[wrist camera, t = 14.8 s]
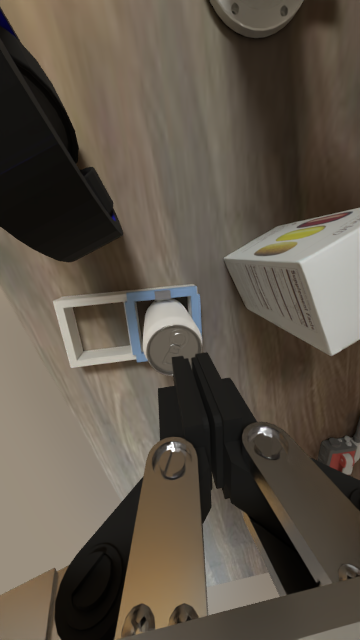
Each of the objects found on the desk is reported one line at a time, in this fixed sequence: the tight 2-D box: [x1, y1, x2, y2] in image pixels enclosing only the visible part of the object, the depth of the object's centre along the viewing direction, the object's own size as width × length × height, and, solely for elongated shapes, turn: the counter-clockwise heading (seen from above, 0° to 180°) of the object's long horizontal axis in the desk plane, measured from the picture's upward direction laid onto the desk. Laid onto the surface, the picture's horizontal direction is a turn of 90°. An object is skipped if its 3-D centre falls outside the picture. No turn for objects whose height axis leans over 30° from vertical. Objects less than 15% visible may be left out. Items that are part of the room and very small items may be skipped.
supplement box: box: [224, 208, 360, 356], centre depth 24 cm, size 10×9×17 cm
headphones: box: [0, 7, 123, 262], centre depth 16 cm, size 18×7×20 cm, turn 27°
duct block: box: [53, 284, 202, 368], centre depth 29 cm, size 19×10×5 cm, turn 95°
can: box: [143, 298, 202, 376], centre depth 26 cm, size 6×6×12 cm
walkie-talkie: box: [318, 417, 360, 475], centre depth 44 cm, size 9×4×20 cm
